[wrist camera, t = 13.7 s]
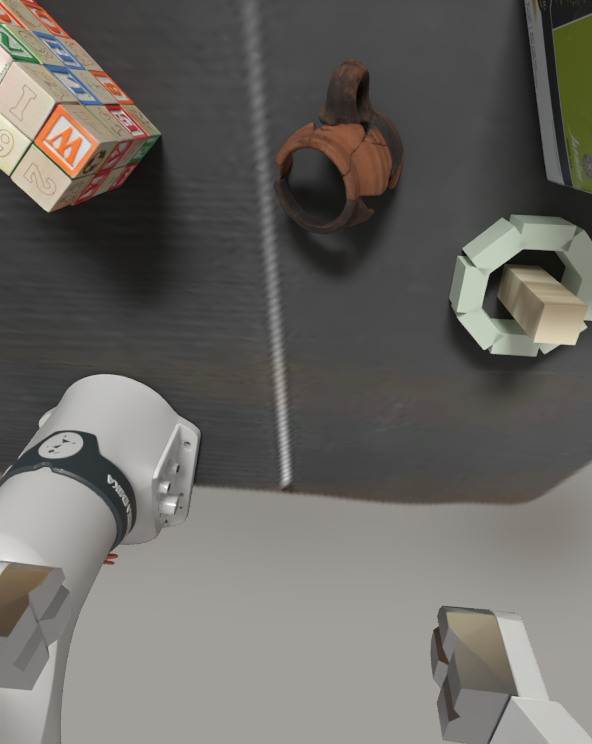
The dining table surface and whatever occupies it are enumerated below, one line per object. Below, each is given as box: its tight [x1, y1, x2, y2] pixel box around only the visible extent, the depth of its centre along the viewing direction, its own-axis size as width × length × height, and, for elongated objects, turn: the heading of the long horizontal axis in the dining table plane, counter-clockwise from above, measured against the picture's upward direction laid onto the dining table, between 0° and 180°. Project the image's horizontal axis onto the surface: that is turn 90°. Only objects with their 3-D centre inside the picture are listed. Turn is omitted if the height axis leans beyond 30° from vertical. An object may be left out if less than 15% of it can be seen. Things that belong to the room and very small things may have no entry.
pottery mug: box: [274, 59, 403, 234], centre depth 37 cm, size 12×10×8 cm
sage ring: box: [449, 215, 592, 357], centre depth 42 cm, size 12×12×4 cm
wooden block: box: [497, 264, 588, 345], centre depth 39 cm, size 3×3×10 cm
